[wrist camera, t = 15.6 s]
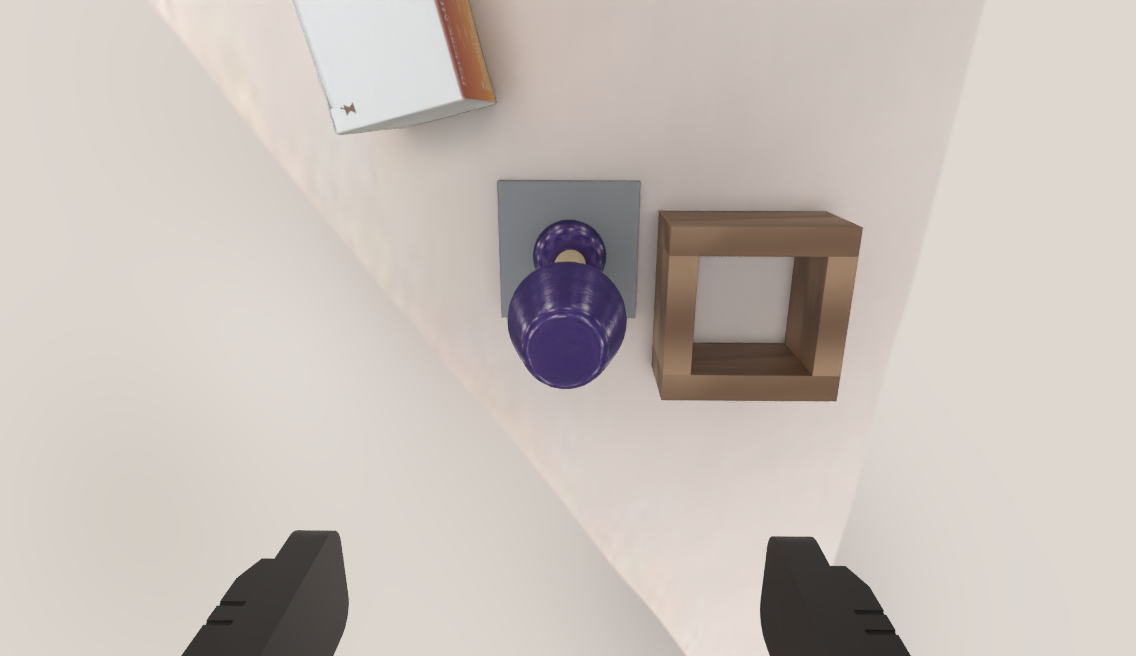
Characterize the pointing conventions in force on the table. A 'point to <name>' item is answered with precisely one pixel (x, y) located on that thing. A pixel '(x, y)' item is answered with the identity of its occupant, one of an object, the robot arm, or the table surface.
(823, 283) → the wooden cube shelf
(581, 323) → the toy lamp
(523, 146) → the table surface
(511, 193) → the slate pad
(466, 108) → the small box
